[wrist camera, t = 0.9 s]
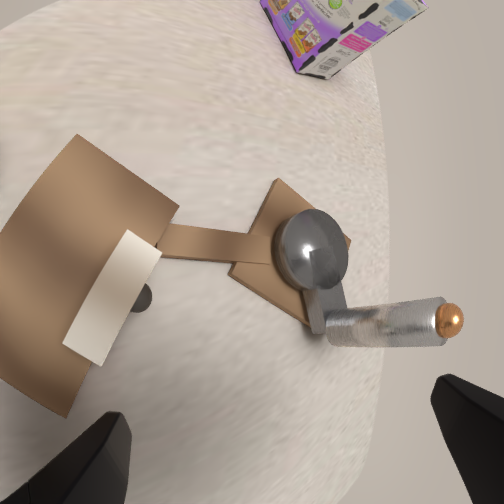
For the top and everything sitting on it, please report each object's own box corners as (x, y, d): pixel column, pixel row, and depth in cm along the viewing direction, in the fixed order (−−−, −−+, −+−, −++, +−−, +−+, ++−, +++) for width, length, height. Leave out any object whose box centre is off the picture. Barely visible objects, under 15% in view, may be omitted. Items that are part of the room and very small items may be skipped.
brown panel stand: (256, 477, 19) (297, 503, 15) (-41, 334, 12) (-74, 337, 7) (346, 241, 29) (389, 228, 24) (142, 82, 21) (161, 38, 17)
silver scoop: (265, 218, 23) (397, 152, 13) (323, 212, 26) (442, 162, 16) (299, 358, 22) (445, 365, 12) (352, 332, 25) (479, 324, 16)
